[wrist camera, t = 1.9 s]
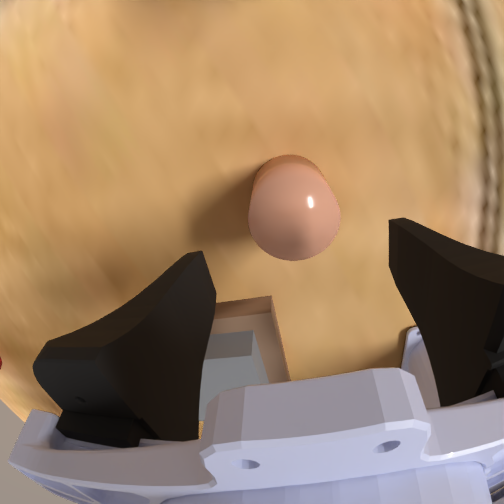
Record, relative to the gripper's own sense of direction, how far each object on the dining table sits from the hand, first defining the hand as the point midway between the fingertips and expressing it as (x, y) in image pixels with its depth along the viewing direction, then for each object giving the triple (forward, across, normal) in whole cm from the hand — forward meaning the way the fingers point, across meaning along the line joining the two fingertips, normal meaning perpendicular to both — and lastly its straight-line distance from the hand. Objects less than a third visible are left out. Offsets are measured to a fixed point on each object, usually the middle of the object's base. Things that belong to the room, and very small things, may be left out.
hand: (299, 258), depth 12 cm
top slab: (+6, +8, +13) cm, 16 cm away
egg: (+8, 0, 0) cm, 8 cm away
